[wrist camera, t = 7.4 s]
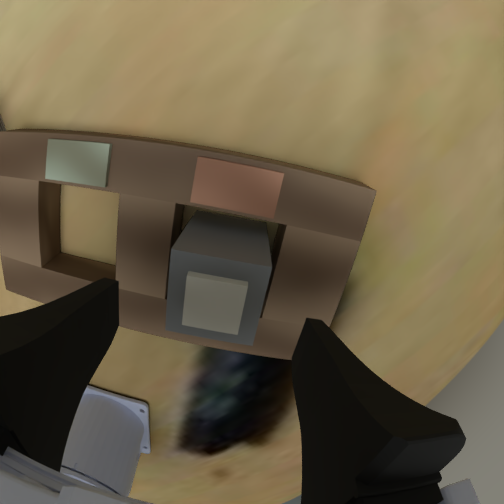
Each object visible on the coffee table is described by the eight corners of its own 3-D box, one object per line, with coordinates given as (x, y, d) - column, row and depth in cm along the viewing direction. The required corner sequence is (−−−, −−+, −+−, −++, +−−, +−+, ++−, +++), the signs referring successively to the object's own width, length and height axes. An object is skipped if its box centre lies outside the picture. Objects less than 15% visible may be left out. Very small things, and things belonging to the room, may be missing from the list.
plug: (252, 283, 19) (252, 351, 13) (188, 272, 19) (163, 335, 13) (266, 222, 18) (272, 271, 12) (196, 209, 17) (168, 253, 12)
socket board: (308, 338, 21) (314, 365, 18) (24, 274, 19) (3, 291, 16) (360, 182, 17) (378, 192, 14) (21, 128, 15) (-5, 132, 12)
